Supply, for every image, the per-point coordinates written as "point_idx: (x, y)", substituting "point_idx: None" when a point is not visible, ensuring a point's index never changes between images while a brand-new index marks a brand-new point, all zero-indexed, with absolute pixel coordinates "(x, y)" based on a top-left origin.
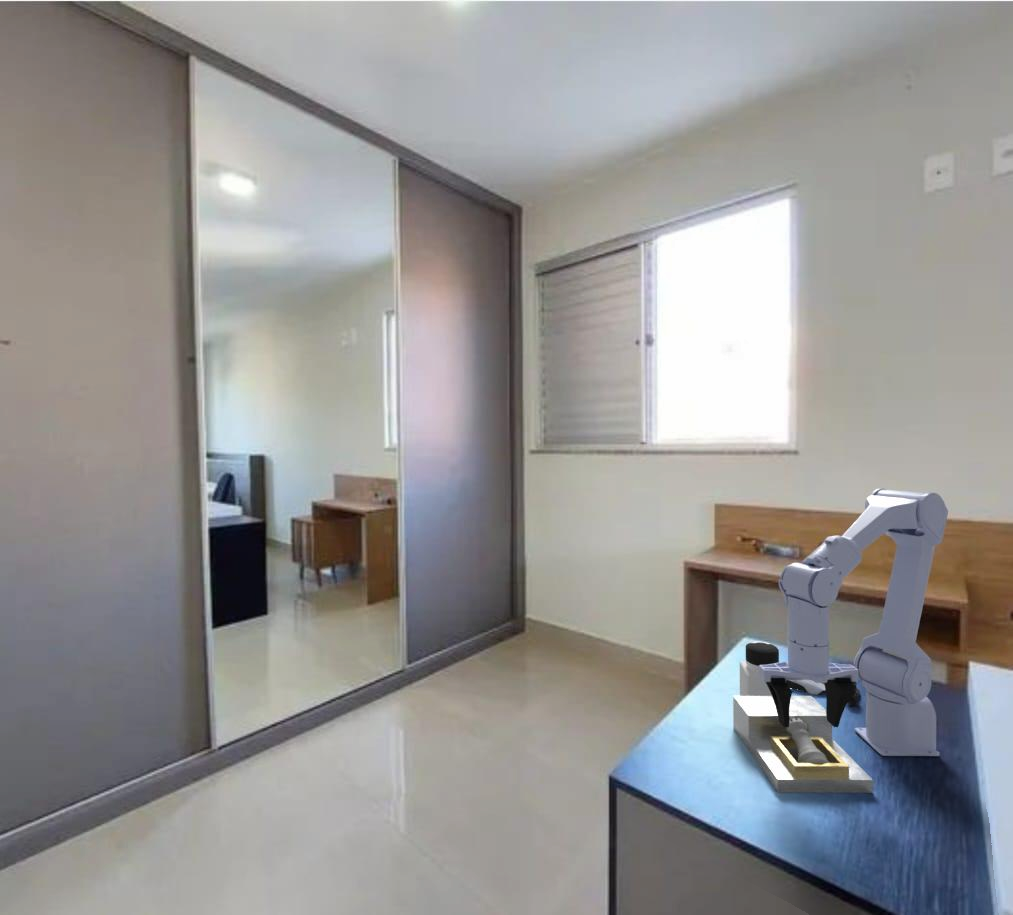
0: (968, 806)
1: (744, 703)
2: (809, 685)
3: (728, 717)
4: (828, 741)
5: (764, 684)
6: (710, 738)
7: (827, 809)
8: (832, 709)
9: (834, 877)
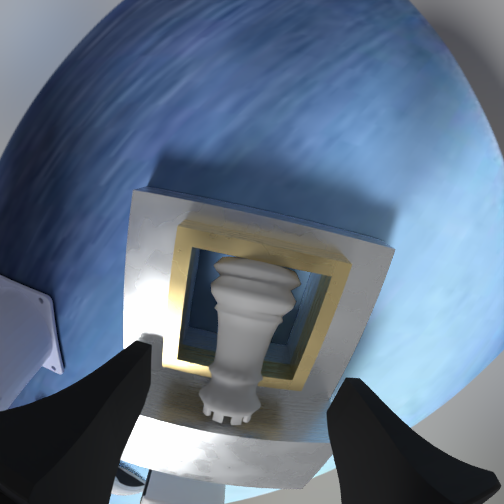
0: (18, 130)
1: (303, 473)
2: None
3: None
4: None
5: (191, 497)
6: None
7: (312, 154)
8: (125, 407)
9: (421, 24)
